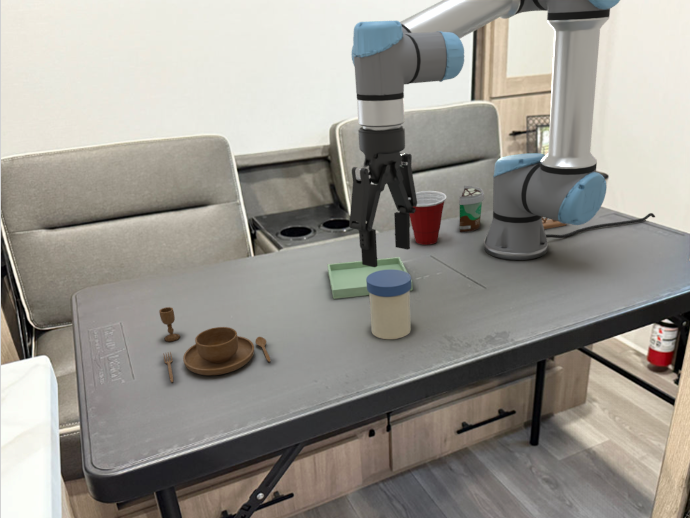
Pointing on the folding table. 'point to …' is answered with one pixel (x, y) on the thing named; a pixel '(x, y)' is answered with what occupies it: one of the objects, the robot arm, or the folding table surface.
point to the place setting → (212, 349)
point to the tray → (358, 276)
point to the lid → (388, 283)
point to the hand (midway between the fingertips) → (386, 256)
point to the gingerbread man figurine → (551, 223)
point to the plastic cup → (427, 216)
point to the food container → (470, 208)
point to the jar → (390, 316)
